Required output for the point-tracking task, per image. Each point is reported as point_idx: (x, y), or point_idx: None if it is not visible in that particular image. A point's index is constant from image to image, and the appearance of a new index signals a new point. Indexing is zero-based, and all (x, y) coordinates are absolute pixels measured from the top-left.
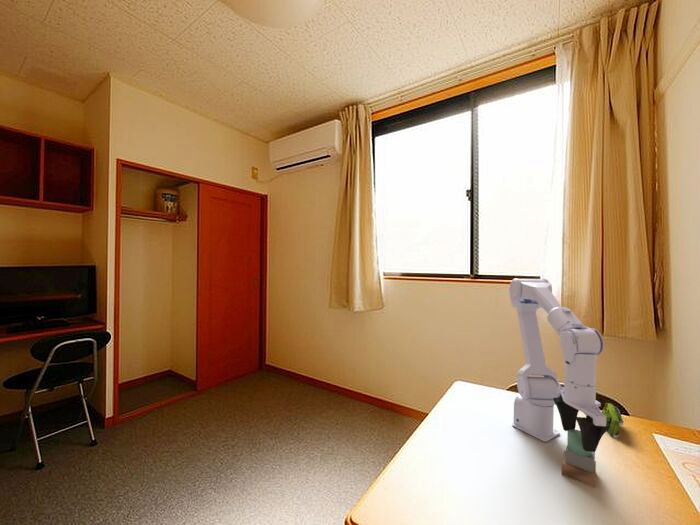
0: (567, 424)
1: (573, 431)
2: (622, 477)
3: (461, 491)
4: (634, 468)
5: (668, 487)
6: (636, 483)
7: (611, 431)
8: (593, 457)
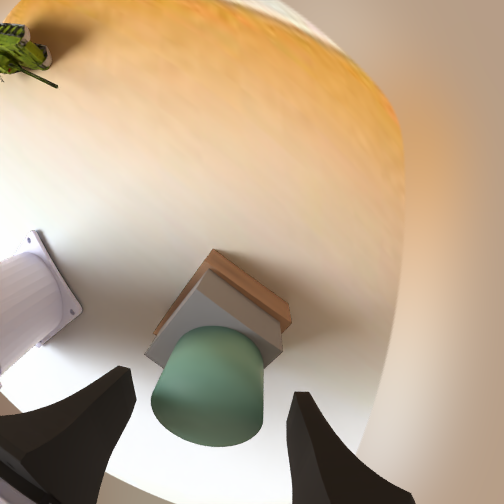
0: (121, 413)
1: (174, 419)
2: (233, 167)
3: (289, 495)
4: (183, 87)
5: (276, 54)
6: (263, 141)
7: (34, 64)
8: (266, 342)
